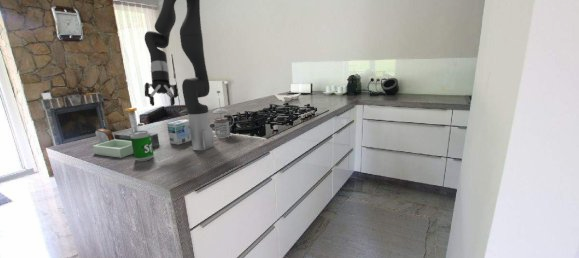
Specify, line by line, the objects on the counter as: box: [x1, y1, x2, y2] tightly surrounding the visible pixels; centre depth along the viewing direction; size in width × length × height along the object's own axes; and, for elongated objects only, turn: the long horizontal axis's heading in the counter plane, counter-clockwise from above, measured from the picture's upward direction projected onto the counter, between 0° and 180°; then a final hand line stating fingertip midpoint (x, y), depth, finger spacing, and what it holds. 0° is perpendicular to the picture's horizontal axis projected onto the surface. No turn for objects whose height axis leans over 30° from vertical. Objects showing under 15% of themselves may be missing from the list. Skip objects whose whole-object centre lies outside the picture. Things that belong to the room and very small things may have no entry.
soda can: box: [130, 130, 155, 162], centre depth 119 cm, size 8×8×12 cm
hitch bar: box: [113, 130, 160, 148], centre depth 140 cm, size 22×7×6 cm, turn 68°
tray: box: [92, 138, 134, 159], centre depth 131 cm, size 18×11×4 cm, turn 68°
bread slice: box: [94, 127, 115, 144], centre depth 143 cm, size 15×3×8 cm, turn 57°
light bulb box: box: [166, 118, 191, 145], centre depth 144 cm, size 11×7×11 cm, turn 150°
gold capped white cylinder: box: [125, 107, 139, 133], centre depth 138 cm, size 5×5×19 cm
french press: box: [212, 90, 235, 139], centre depth 149 cm, size 10×12×25 cm
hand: (162, 105), depth 130 cm, fingers open, 8 cm apart
